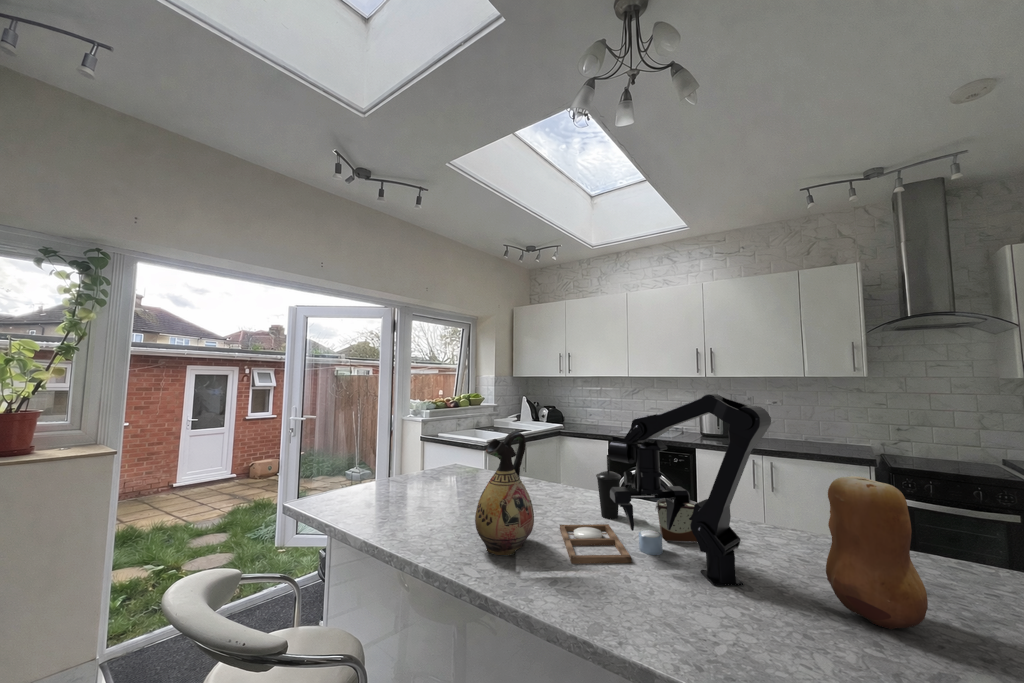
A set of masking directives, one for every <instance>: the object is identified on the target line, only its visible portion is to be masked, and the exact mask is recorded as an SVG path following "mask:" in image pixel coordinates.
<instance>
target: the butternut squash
mask: <svg viewBox="0 0 1024 683" xmlns="http://www.w3.org/2000/svg"><path fill="white" fill-rule="evenodd" d="M827 498H828V502H829V519H828V522H827V523H828V524H827V525H828V528H829V529H828V530H829V532H830V535H831V546H830V548H829V551H828V555H827V558H826V563H825V564H826V565H825V575H826V577H827V578H826V579H827V581H828V583H829V584H830V587H831V589H832V590H833V593H834V594H835V596H836V597H837V599H838V600H839V601H840V603H841V604H842V605H843V606H844V607H845V608H846V609H848V610H849V611H851V612H853V613H854V614H855V615H858V616H860V617H862V618H864V619H866V620H868V621H869V622H871V624H873V625H874V624H876V625H875V626H877V625H878V627H881V626H882V627H881V628H886V629H889V630H891V629H892V630H894V629H909V628H912V627H917V626H918V625H920V624H921V623H923V621H924V620H925V618H926V614H927V610H928V606H929V600H928V593H927V589H926V587H925V585H924V583H923V580H922V578H921V576H920V575H919V572H918V570H917V569H916V567H915V566H914V563H913V561H912V559H911V554H910V553H911V551H910V550H911V544H912V543H911V542H912V532H913V531H912V523H911V516H910V512H909V509H908V508H909V507H908V502H907V500H906V497H905V496H904V494H903V493H902V491H901V490H900V489H898V488H897V487H895V486H894V485H892V484H889V483H885V482H880V481H876V480H873V479H870V478H867V477H862V476H850V475H849V476H841V477H840V476H839V477H837V478H835V479H833V481H832V482H831V483H830V485H829V487H828V490H827Z"/></svg>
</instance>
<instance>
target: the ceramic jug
mask: <svg viewBox="0 0 1024 683" xmlns="http://www.w3.org/2000/svg"><path fill="white" fill-rule="evenodd" d="M513 441H517V442H518V446H517V450H516V452H515V450H514V448H513V446H512V442H513ZM526 442H527V441H526V437H525V435H524V434H523V433H522V432H519V431H514V432H513V431H512V432H510V433H508V434H507V435H506V436H505V438H504V441H500V439H498V438H497V439H496V438H494V439H492V440H490V442H488V444H487V445H486V447H485V453H486V454H488V455H491V456H493V457H495V458H497V459H498V460H500V461H499V465H498V467H497V469H496V471H495V472H494V473H493V475H492V476H491V478H490V479H489V481H488V482H487V484H486V486H485V487H484V489H483V491H482V493H480V494H481V495H480V497H479V499H478V502H477V506H476V512H475V516H474V517H475V518H474V522H475V530H476V532H477V534H478V536H479V538H480V539H481V541H482V543H483V544H484V545H485V550H486V549H487V550H486V552H487V551H488V552H489V553H488V552H487V553H488V554H492V555H494V554H495V556H498V555H508V556H510V555H511V556H512V555H515V554H516V551H517V550H519V549H521V548H522V547H523V544H524V542H525V541H526V540H527V539H528V537H529V536H530V535H531V533H532V531H533V530H534V524H535V513H534V507H533V503H532V500H531V497H530V494H529V492H528V490H527V488H526V486H525V485H524V482H523V481H522V480H521V475H520V474H521V465H522V464H523V458H524V455H525V451H526V446H527V443H526ZM514 457H515V459H514V461H513V460H512V458H514Z"/></svg>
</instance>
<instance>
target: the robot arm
mask: <svg viewBox="0 0 1024 683" xmlns="http://www.w3.org/2000/svg"><path fill="white" fill-rule="evenodd" d="M709 414H712V415H714V416H715V417H716V418H718V419H719V420H721V421H723V422H724V423H727V424H728V429H727V430H728V440H729V441H728V445H727V448H726V451H725V452H724V456H723V459H722V461H721V464H720V467H719V469H718V472H717V474H716V477H715V479H714V482H713V485H712V487H711V491H710V493H709V495H708V498H705V499H703V500H701V501H699V502H697V503H696V504H695V506H694V510H693V514H692V516H691V517H690V518H689V520H692V521H691V525H690V528H691V530H692V532H693V534H694V536H695V537H696V539H697V542H698V543H697V545H698V548H699V551H700V552H702V553H705V564H706V566H705V567H706V569H700V570H699V571H700V573H701V575H702V576H703V577H705V579H706V580H707V581H708V582H710V584H712V585H713V586H716V587H717V586H718V587H719V586H744V581H742V580H741V579H740V578H739V577H737V574H736V558H735V556H736V555H735V549H738V548H739V547H740V544H741V541H742V539H741V537H740V536H739V535H738V534H737V533H736V531H734V530H733V528H732V527H731V526H730V523H731V517H732V516H731V504H732V501H733V500H734V498H735V497H734V496H735V493H736V491H737V488H738V486H739V483H740V481H741V479H742V476H743V474H744V471H745V468H746V466H747V464H748V461H749V458H750V456H751V453H752V450H753V449H754V448H755V446H756V445H757V444H758V443H759V442H760V441H761V439H763V437H764V435H765V434H766V432H767V431H768V430H769V428H770V427H771V425H772V417H771V416H770V414H769V412H768V410H766V409H765V408H763V407H761V406H758V405H747V404H744V403H741V402H738V401H736V400H732V399H729V398H726V397H724V396H722V395H720V394H719V393H718V394H717V393H710V394H705V395H703V396H701V397H700V398H697V399H695V400H693V401H689V402H687V403H685V404H684V403H683V404H682V405H679V406H676V407H675V408H672V409H670V410H666V411H664V412H661V413H657V414H651V415H644V416H640V417H636V418H634V419H633V420H632V421H631V425H630V429H629V430H628V431H627V434H626V435H625V436H622V435H613V436H612V440H611V442H610V443H609V445H608V449H607V455H609V460H610V461H611V462H612V461H613V462H618V463H624V464H631V465H632V464H634V463H635V465H636V467H635V468H634V473H633V472H632V471H624V472H623V482H624V485H630V486H631V489H635V490H629V489H628V488H627V487H626V486H620V487H612V488H611V489H610V498H611V499H612V500H613V501H614V502H615V503H617V504H619V508H622V510H623V512H624V514H625V516H626V519H627V522H628V525H629V528H630V530H631V531H634V530H635V521H634V520H635V518H634V507H633V503H631V501H632V499H633V500H634V499H636V500H637V499H638V500H639V499H642V500H643V499H644V500H645V499H646V500H647V499H664V498H665V500H666V505H667V529H668V530H671V527H672V525H673V522H674V520H675V518H676V516H677V514H678V512H679V511H680V509H681V507H682V506H685V504H684V503H690V500H691V496H690V493H689V491H688V490H687V489H685V488H683V487H682V486H681V485H674V486H673V485H669V486H668V485H667V486H666V487H665V490H664V489H662V487H661V478H662V477H663V476H662V474H663V473H662V472H661V468H660V451H661V452H662V451H665V450H667V449H668V446H667V445H665V444H664V443H663V442H662V440H661V439H657V438H659V437H660V436H663V434H665V433H667V432H668V431H669V430H670V429H672V428H674V427H675V426H678V425H682V424H685V423H686V422H690V421H692V420H695V419H697V418H698V419H699V418H700V417H704V416H706V415H709ZM652 439H655V440H654V441H648V440H652ZM656 439H657V440H656ZM640 442H642V443H641V444H640Z"/></svg>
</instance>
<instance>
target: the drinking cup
mask: <svg viewBox="0 0 1024 683" xmlns="http://www.w3.org/2000/svg"><path fill="white" fill-rule="evenodd" d="M606 469H607V470H605V471H601V472H599V473H597V474H595V478H596V479H597V487H598V497H599V504H600V506H599V507H600V516H601V517H602V518H603V519H606V520H616V519H618V517H619V508H620V506H619V504H617V503H615V502H614V501H613V500H612V499H611V498H610V489H611V488H612V487H621V485H620V484H621V478H622V476H621V475H620V474H619V473H618V472H614V471H611V470H610V458H609V455H608V454H606Z"/></svg>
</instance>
